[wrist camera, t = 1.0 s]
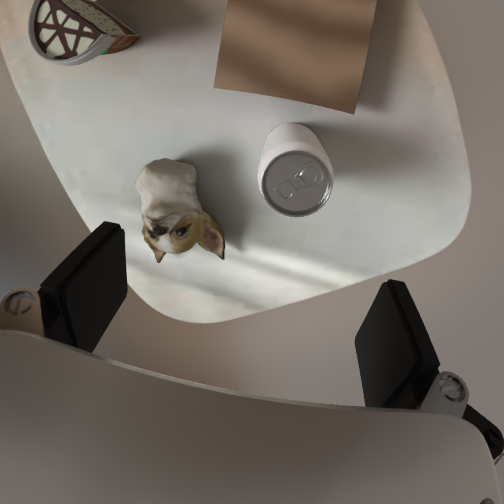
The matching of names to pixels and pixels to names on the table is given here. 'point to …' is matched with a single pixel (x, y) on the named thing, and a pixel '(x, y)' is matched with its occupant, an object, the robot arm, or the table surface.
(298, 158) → the can
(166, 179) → the ceramic sculpture
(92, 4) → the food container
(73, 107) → the table surface
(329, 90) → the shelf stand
